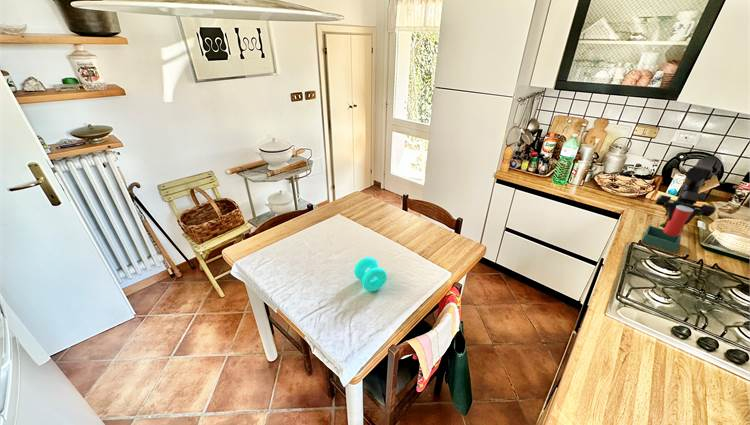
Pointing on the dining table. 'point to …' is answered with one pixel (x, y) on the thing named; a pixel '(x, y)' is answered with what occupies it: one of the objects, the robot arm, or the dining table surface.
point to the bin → (661, 239)
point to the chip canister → (678, 220)
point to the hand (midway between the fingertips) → (677, 222)
